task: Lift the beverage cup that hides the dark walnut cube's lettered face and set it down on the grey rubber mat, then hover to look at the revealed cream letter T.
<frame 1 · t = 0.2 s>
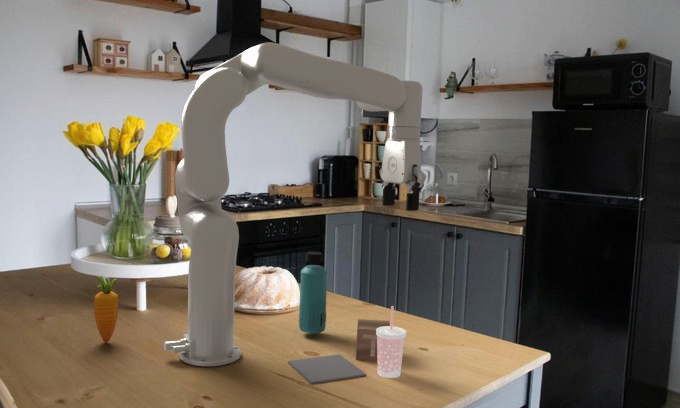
hand: (399, 207, 151), 31 cm above the table, tool pointing down, fingers open, 9 cm apart
beverage cup: (388, 374, 130), on the table
grey mat: (326, 369, 130), on the table
carrot: (106, 343, 141), on the table
beverage bottle: (311, 336, 152), on the table
letter cube: (372, 355, 140), on the table
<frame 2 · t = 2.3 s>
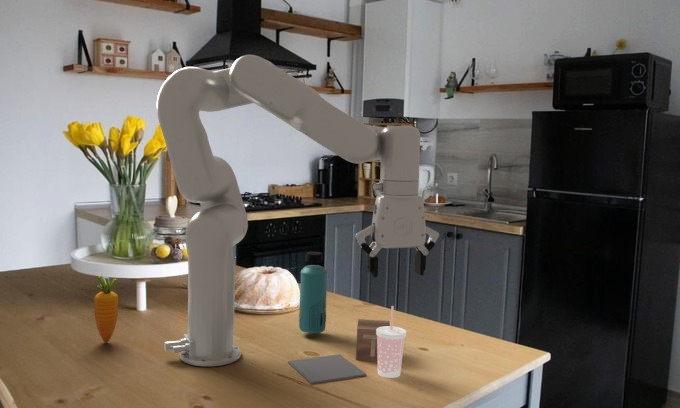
hand: (396, 274, 127), 20 cm above the table, tool pointing down, fingers open, 9 cm apart
nothing on the table moved.
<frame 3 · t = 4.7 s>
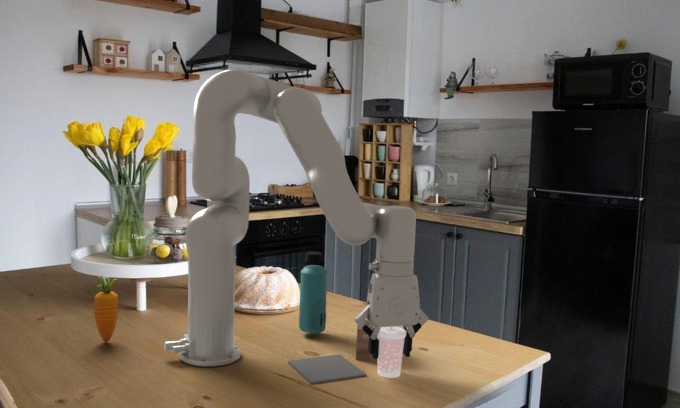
hand: (389, 354, 129), 4 cm above the table, tool pointing down, fingers closed on beverage cup, 6 cm apart
beverage cup: (388, 374, 130), on the table, touching gripper
everything else where it was.
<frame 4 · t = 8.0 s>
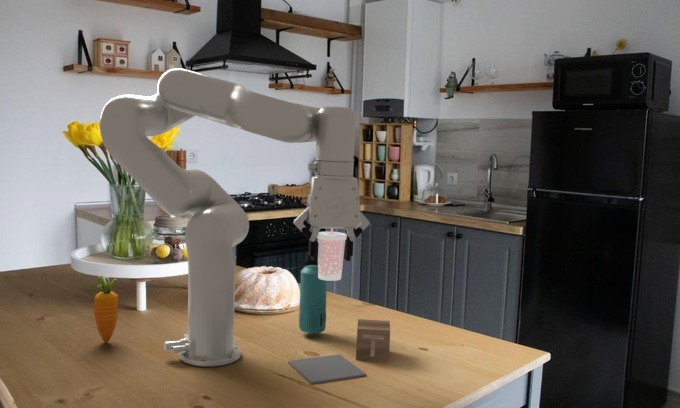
hand: (330, 259, 128), 23 cm above the table, tool pointing down, fingers closed on beverage cup, 6 cm apart
beverage cup: (329, 279, 128), point 19 cm above the table, touching gripper
everything else where it was.
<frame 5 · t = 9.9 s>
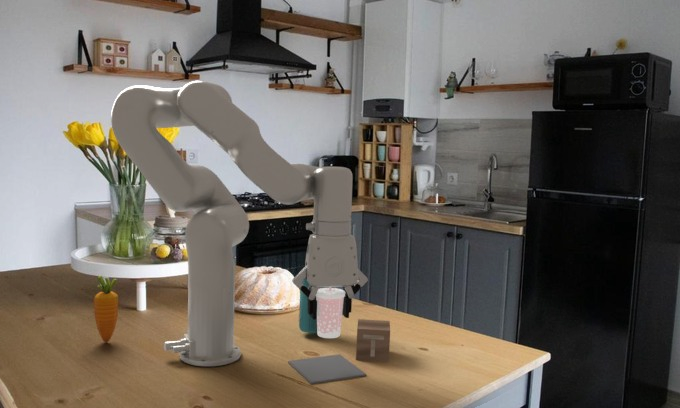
hand: (329, 316, 129), 11 cm above the table, tool pointing down, fingers closed on beverage cup, 6 cm apart
beverage cup: (328, 335, 130), point 7 cm above the table, touching gripper
everything else where it was.
when the fingers open (5 cm above the table, at t = 11.6 s): beverage cup drops 1 cm, resting on grey mat.
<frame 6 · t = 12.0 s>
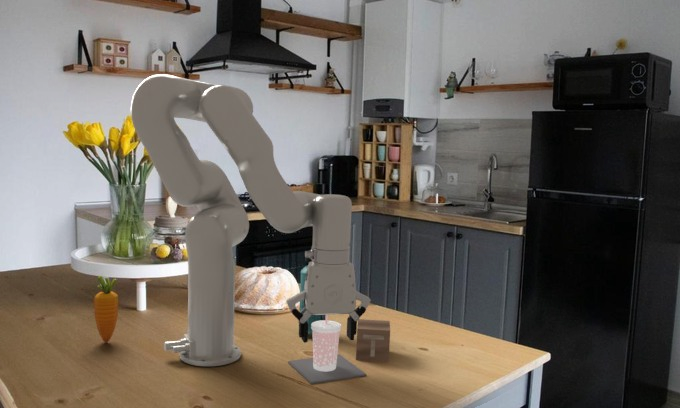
hand: (327, 339, 130), 6 cm above the table, tool pointing down, fingers open, 9 cm apart
beverage cup: (324, 368, 130), resting on grey mat
everything else where it was.
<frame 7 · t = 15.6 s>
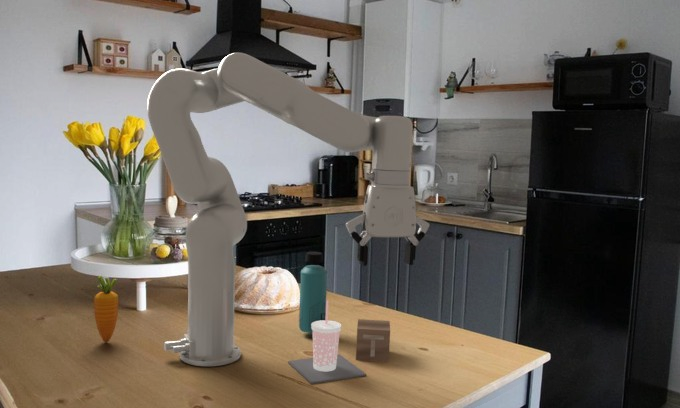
hand: (386, 264, 128), 22 cm above the table, tool pointing down, fingers open, 9 cm apart
nothing on the table moved.
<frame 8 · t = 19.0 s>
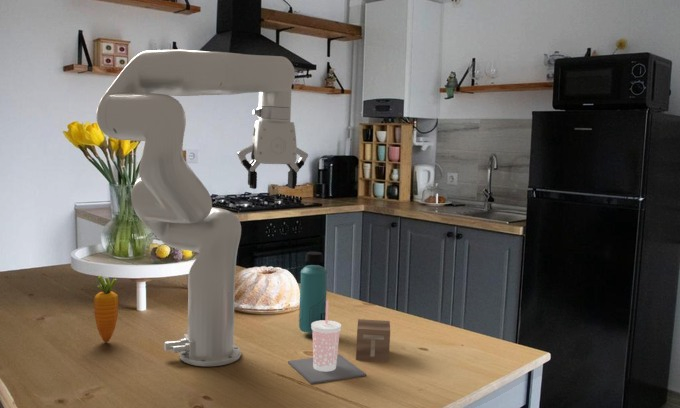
hand: (272, 188, 151), 34 cm above the table, tool pointing down, fingers open, 9 cm apart
nothing on the table moved.
at the end: beverage cup inside the target area on the grey mat (0.3 cm from its centre), point 0.2 cm above the grey mat's base; beverage cup tilted 0°; letter cube moved 0.1 cm from its start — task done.
